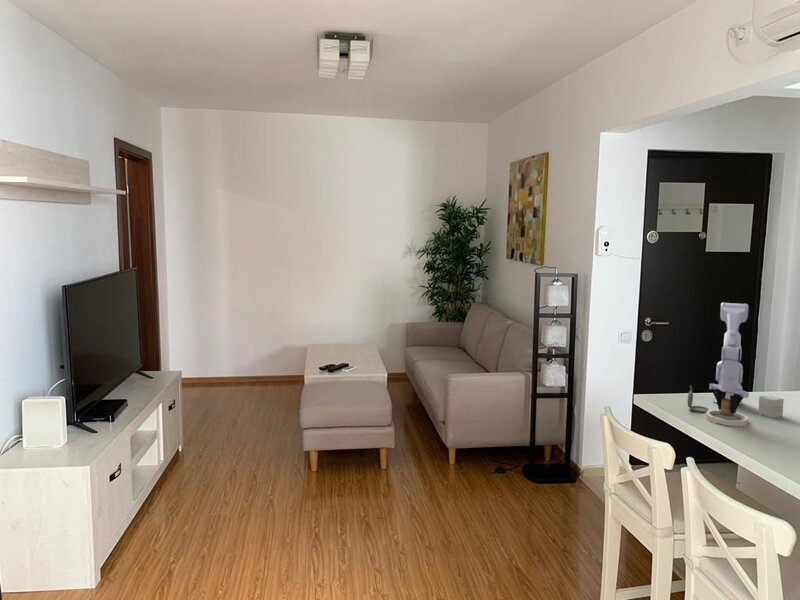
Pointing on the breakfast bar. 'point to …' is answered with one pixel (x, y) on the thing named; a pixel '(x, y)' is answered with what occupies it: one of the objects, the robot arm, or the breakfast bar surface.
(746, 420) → the round tray
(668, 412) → the breakfast bar surface
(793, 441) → the breakfast bar surface
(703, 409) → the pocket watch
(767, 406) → the skincare box
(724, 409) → the walnut cylinder
